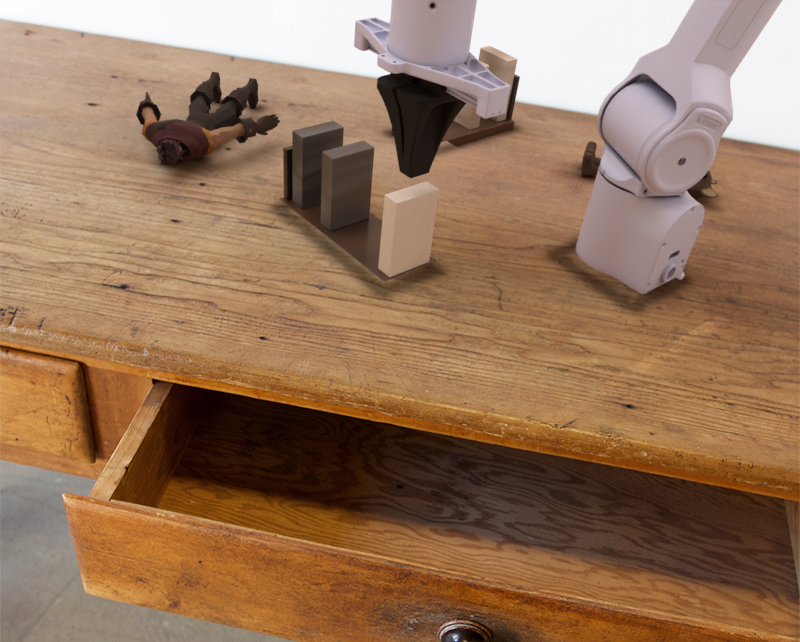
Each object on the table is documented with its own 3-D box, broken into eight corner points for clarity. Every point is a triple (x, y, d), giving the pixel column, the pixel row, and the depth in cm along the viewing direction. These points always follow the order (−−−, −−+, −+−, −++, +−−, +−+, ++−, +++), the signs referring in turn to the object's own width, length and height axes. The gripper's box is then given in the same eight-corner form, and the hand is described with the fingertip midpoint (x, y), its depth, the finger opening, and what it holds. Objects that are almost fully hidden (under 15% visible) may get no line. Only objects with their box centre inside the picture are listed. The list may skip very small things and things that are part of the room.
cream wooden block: (429, 262, 67) (439, 189, 62) (389, 277, 64) (397, 203, 60) (417, 253, 68) (426, 180, 63) (377, 268, 65) (384, 194, 60)
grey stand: (435, 270, 68) (448, 187, 62) (383, 291, 65) (391, 206, 59) (329, 192, 76) (332, 113, 70) (278, 207, 73) (277, 126, 67)
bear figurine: (597, 113, 89) (727, 128, 86) (590, 148, 92) (717, 165, 89) (573, 178, 76) (726, 199, 73) (567, 217, 79) (713, 239, 76)
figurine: (174, 101, 90) (91, 166, 75) (171, 63, 87) (84, 123, 72) (297, 123, 89) (239, 193, 73) (298, 85, 86) (237, 150, 71)
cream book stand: (513, 128, 91) (526, 60, 86) (425, 154, 84) (434, 81, 78) (478, 110, 94) (489, 42, 89) (390, 133, 87) (397, 61, 82)
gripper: (323, -43, 52) (319, 145, 62) (467, 25, 45) (437, 227, 54) (401, -51, 56) (386, 128, 65) (547, 10, 48) (506, 202, 58)
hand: (414, 172), depth 60 cm, fingers closed
